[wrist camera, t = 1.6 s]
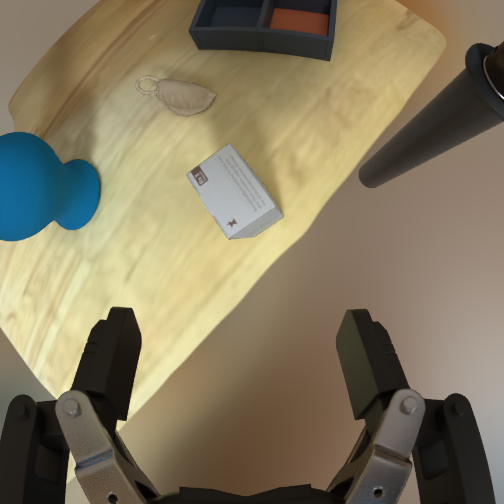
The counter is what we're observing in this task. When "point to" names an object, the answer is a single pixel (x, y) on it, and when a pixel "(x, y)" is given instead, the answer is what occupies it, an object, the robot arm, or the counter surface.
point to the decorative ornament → (180, 95)
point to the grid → (267, 26)
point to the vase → (42, 188)
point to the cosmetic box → (234, 194)
